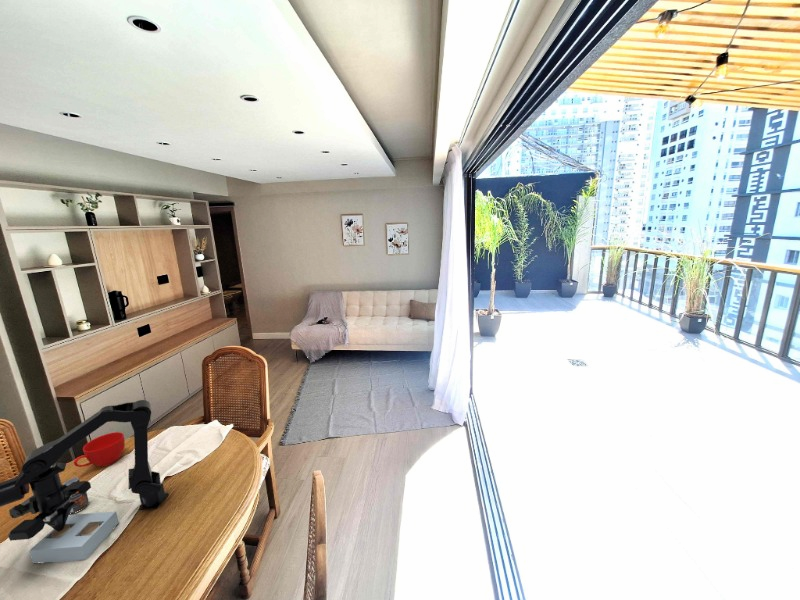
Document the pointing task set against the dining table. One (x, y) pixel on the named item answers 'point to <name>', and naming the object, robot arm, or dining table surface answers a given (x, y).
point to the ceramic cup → (103, 450)
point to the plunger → (60, 532)
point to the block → (75, 539)
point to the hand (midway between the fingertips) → (60, 530)
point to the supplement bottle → (77, 497)
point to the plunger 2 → (89, 529)
